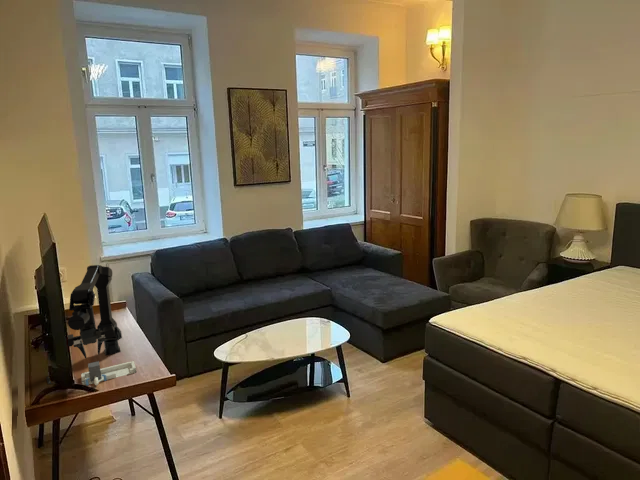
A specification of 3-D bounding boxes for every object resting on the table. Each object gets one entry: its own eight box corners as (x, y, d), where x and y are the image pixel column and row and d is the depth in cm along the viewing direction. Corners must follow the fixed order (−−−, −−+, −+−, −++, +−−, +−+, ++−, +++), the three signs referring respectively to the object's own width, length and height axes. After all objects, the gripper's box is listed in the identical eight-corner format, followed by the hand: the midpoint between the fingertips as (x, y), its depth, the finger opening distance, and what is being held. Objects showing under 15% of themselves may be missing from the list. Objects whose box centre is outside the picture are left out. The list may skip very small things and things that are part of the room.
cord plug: (90, 377, 187) (87, 363, 186) (101, 374, 189) (98, 361, 188) (91, 388, 179) (89, 374, 178) (102, 385, 181) (100, 371, 179)
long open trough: (81, 378, 188) (80, 371, 187) (134, 365, 197) (133, 358, 196) (82, 387, 180) (81, 380, 180) (136, 373, 190) (135, 366, 189)
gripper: (59, 332, 170) (65, 371, 173) (114, 321, 178) (119, 358, 182) (59, 322, 179) (65, 359, 183) (111, 312, 188) (116, 347, 191)
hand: (92, 356), depth 184 cm, fingers open, 4 cm apart
